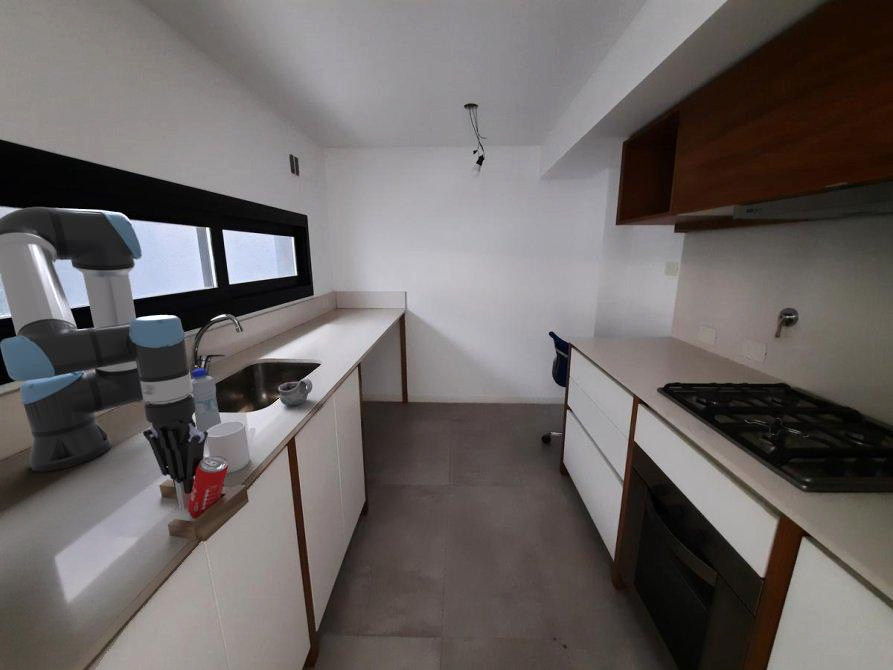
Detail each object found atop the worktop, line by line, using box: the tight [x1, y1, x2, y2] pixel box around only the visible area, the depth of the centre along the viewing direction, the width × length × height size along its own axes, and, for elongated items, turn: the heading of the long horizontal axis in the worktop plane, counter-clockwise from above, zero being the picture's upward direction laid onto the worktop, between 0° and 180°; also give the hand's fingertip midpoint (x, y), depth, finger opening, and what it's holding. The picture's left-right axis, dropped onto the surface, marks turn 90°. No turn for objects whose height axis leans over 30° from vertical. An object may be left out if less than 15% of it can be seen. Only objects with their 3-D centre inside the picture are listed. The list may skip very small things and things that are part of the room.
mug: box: [277, 377, 313, 407], centre depth 126 cm, size 10×12×10 cm
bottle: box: [191, 368, 222, 432], centre depth 106 cm, size 7×7×20 cm
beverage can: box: [187, 455, 228, 520], centre depth 71 cm, size 5×5×12 cm
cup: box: [203, 420, 251, 475], centre depth 89 cm, size 8×12×10 cm
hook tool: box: [158, 479, 249, 542], centre depth 72 cm, size 20×11×4 cm, turn 79°
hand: (188, 505), depth 72 cm, fingers closed
